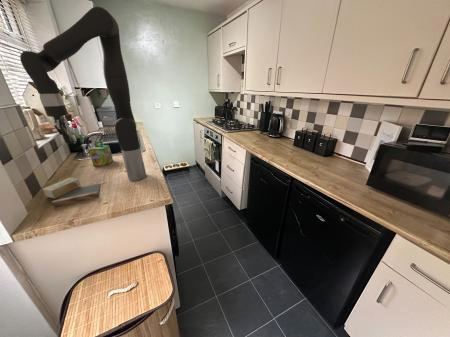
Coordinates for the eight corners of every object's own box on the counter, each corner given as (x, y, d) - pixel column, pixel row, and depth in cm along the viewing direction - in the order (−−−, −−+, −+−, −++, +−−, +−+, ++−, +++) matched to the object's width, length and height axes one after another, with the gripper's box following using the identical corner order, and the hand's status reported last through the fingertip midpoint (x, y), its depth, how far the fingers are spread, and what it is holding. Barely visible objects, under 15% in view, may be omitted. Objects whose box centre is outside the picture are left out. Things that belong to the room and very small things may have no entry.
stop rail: (98, 195, 86) (97, 191, 85) (98, 197, 84) (96, 192, 83) (55, 205, 79) (52, 200, 78) (54, 207, 77) (51, 202, 76)
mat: (100, 184, 96) (100, 183, 96) (98, 194, 86) (98, 194, 86) (62, 191, 89) (61, 191, 89) (55, 204, 79) (55, 203, 79)
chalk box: (93, 166, 117) (86, 144, 111) (99, 161, 125) (92, 140, 119) (108, 165, 119) (102, 143, 113) (113, 160, 127) (108, 139, 121)
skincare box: (73, 184, 95) (45, 196, 84) (70, 177, 93) (41, 188, 82) (81, 186, 93) (54, 199, 82) (79, 179, 91) (50, 191, 80)
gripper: (60, 105, 77) (75, 144, 84) (67, 103, 88) (80, 138, 95) (37, 106, 74) (55, 147, 81) (47, 104, 84) (62, 140, 92)
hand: (68, 142), depth 88 cm, fingers closed
